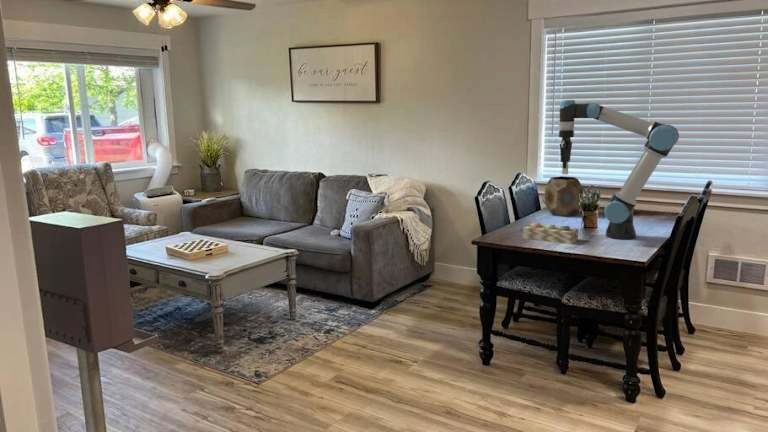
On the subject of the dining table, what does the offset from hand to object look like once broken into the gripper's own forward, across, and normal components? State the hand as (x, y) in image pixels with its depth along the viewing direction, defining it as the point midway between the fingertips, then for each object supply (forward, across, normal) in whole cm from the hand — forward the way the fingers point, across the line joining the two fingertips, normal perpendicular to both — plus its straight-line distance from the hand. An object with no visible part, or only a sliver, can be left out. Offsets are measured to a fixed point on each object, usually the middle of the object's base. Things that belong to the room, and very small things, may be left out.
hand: (565, 174), depth 307 cm
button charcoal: (+31, +9, +4) cm, 32 cm away
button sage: (+31, +9, -4) cm, 32 cm away
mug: (+35, -88, -40) cm, 103 cm away
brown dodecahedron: (+35, -65, -23) cm, 77 cm away
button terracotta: (+31, +8, -12) cm, 34 cm away
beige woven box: (+34, +8, -4) cm, 36 cm away
